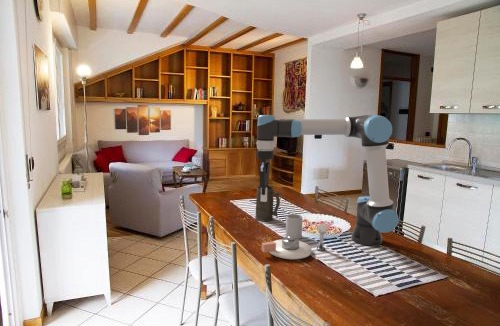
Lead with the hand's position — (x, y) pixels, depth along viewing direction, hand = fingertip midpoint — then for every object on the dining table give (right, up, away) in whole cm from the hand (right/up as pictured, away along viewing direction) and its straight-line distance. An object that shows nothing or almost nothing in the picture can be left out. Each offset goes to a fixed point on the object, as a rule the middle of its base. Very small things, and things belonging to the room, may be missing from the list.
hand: (263, 201), depth 159 cm
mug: (+16, -21, +26) cm, 37 cm away
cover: (+13, -22, +3) cm, 25 cm away
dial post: (+28, -24, +7) cm, 37 cm away
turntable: (+10, -23, +2) cm, 26 cm away
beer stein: (+5, -17, +52) cm, 55 cm away
